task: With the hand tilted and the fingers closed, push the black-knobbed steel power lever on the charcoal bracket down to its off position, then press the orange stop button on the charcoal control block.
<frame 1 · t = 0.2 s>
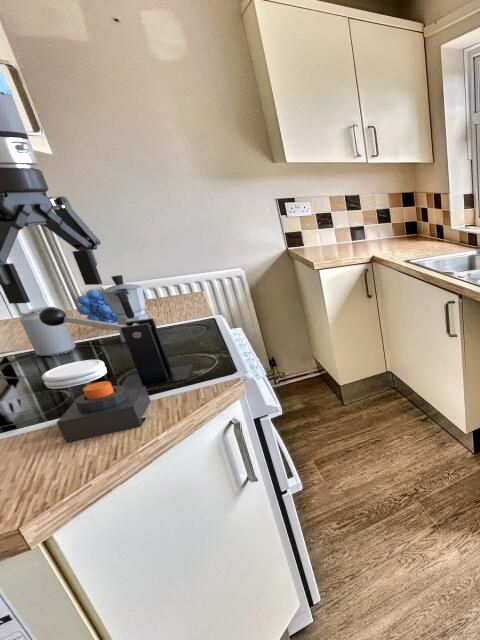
hand: (60, 293, 77), 23 cm above the worktop, tool pointing down, fingers open, 13 cm apart
power lever: (97, 324, 85), point 15 cm above the worktop, hinge at 24.0°
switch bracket: (159, 382, 93), on the worktop
coffee maker: (139, 338, 121), on the worktop
stop button: (99, 390, 75), point 7 cm above the worktop, slide at 0.1 cm
control block: (112, 423, 77), on the worktop
coaster: (79, 383, 94), on the worktop
can: (58, 353, 112), on the worktop
grapes: (112, 327, 131), on the worktop
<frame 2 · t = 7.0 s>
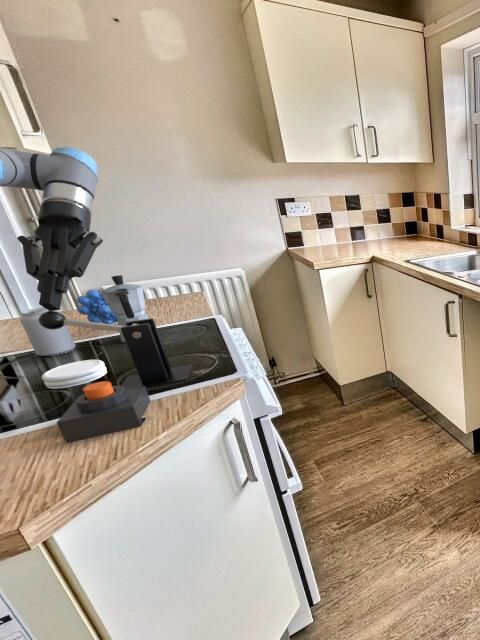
hand: (49, 306, 81), 19 cm above the worktop, tool tilted 45°, fingers closed
power lever: (96, 325, 85), point 14 cm above the worktop, hinge at 20.9°
everything else where it was.
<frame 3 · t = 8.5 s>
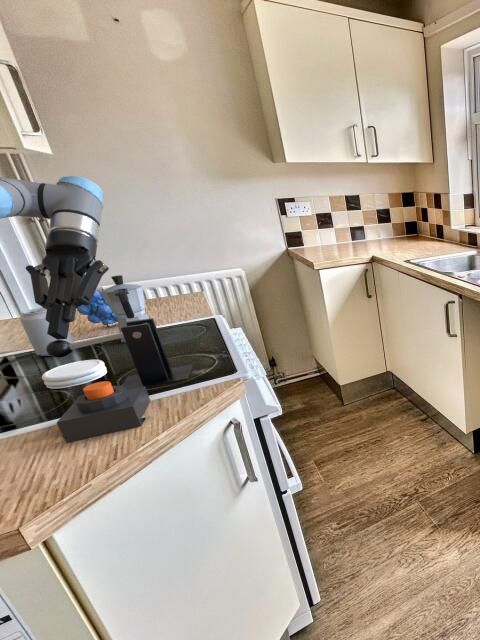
hand: (57, 336, 83), 13 cm above the worktop, tool tilted 45°, fingers closed
power lever: (100, 340, 86), point 11 cm above the worktop, hinge at -5.3°, touching gripper
everything else where it was.
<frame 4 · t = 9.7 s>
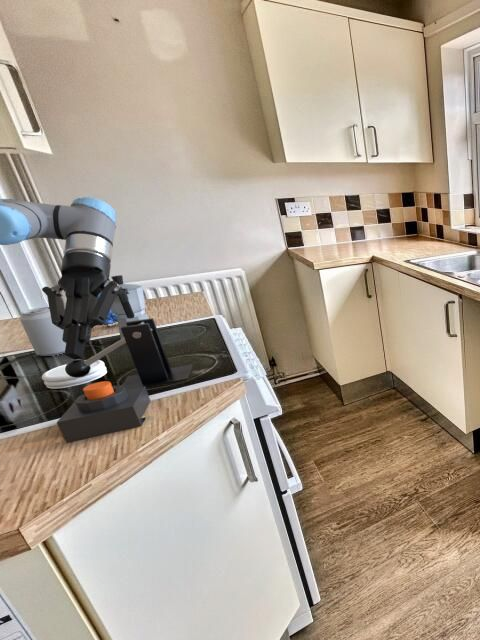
hand: (74, 356, 85), 9 cm above the worktop, tool tilted 45°, fingers closed
power lever: (108, 350, 87), point 9 cm above the worktop, hinge at -26.7°, touching gripper
everything else where it was.
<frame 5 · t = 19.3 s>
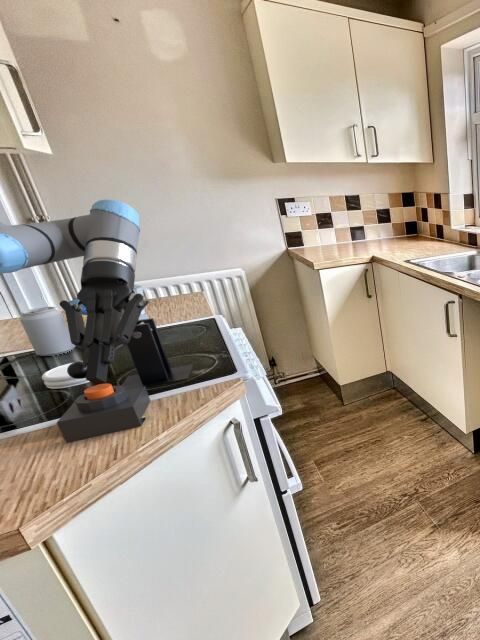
hand: (96, 380, 74), 8 cm above the worktop, tool tilted 45°, fingers closed
power lever: (109, 350, 87), point 9 cm above the worktop, hinge at -28.4°
stop button: (99, 393, 75), point 6 cm above the worktop, slide at -0.3 cm, touching gripper
everything else where it was.
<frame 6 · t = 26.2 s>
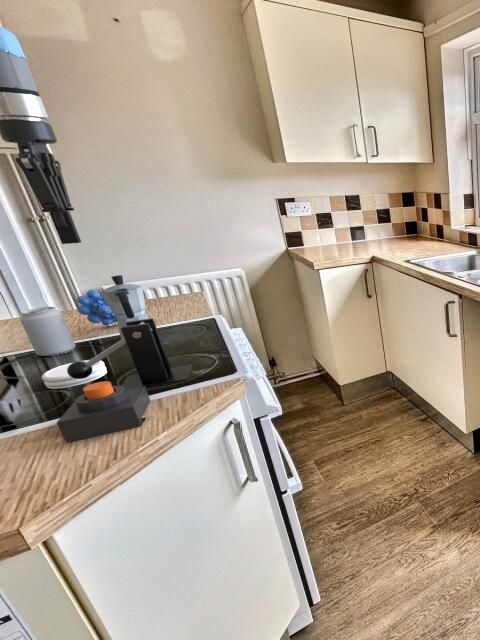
hand: (71, 243, 91), 29 cm above the worktop, tool pointing down, fingers closed
stop button: (99, 390, 75), point 7 cm above the worktop, slide at 0.1 cm
everything else where it was.
at the end: power lever at -28° (first picture: +24°); stop button pushed in 1.3 cm at the most during the clip, back to where it started at the end; stop button slide at 0.1 cm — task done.
